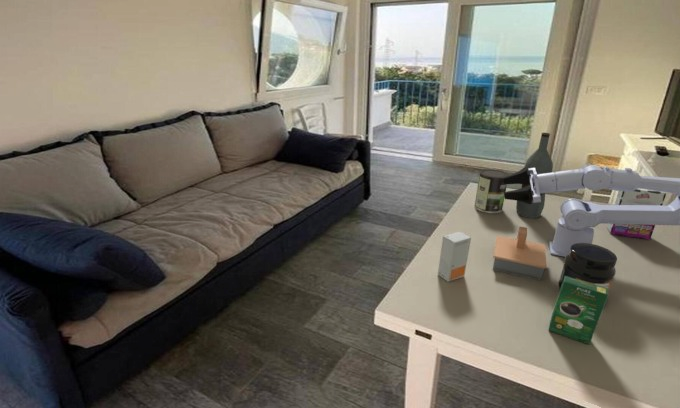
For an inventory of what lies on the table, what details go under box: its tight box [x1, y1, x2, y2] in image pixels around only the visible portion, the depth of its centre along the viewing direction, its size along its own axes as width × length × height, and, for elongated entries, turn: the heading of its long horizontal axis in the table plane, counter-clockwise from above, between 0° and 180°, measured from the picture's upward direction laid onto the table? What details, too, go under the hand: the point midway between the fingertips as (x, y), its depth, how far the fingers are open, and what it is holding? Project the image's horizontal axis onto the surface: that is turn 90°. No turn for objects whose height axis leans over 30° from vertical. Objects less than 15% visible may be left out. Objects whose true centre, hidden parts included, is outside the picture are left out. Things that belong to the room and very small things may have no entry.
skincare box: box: [437, 231, 472, 283], centre depth 99 cm, size 6×4×12 cm
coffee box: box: [548, 276, 609, 345], centre depth 78 cm, size 8×3×13 cm, turn 57°
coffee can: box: [473, 168, 510, 214], centre depth 141 cm, size 10×10×14 cm
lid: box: [492, 226, 548, 270], centre depth 104 cm, size 13×13×6 cm
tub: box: [492, 258, 545, 281], centre depth 106 cm, size 12×12×4 cm
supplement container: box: [557, 243, 618, 292], centre depth 92 cm, size 10×10×12 cm
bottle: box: [515, 132, 554, 219], centre depth 133 cm, size 9×9×30 cm
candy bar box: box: [607, 188, 667, 241], centre depth 121 cm, size 11×5×16 cm, turn 68°
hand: (503, 188), depth 113 cm, fingers open, 7 cm apart
